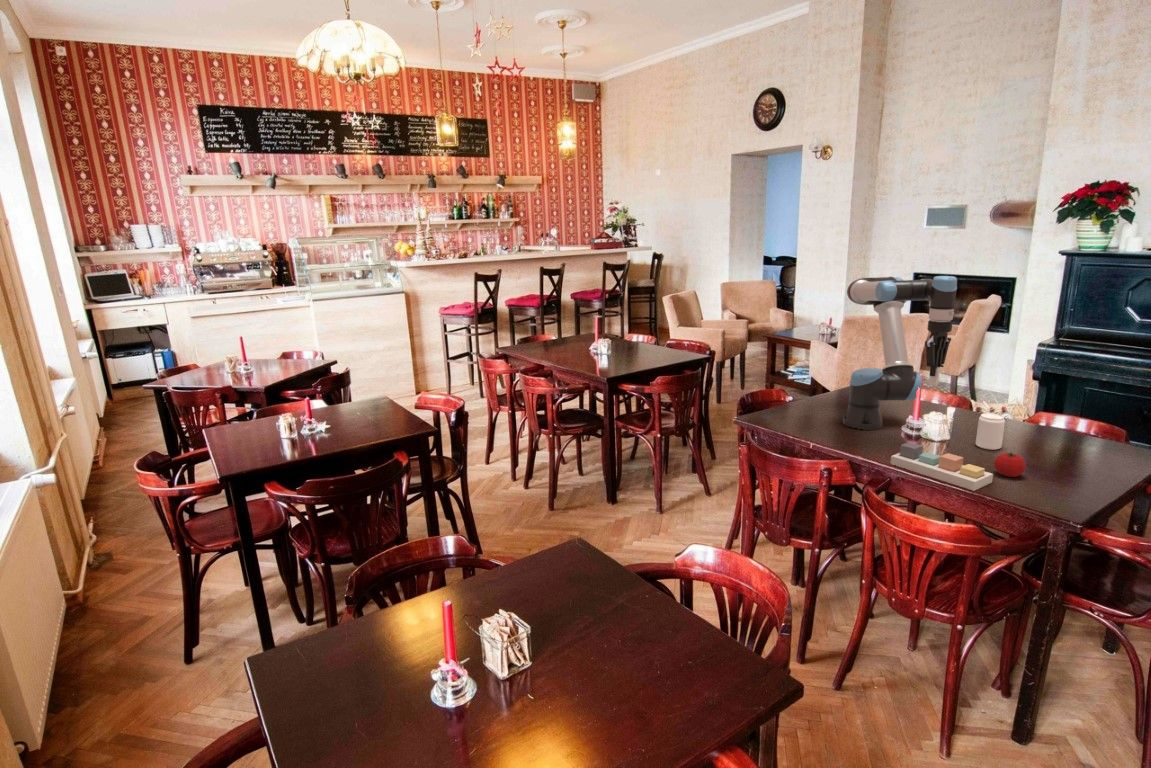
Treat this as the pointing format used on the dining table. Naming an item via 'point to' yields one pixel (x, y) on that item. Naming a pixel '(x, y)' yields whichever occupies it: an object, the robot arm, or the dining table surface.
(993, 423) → the beverage can
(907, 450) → the key
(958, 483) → the keypad
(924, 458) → the key
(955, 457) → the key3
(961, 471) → the key
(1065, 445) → the dining table surface
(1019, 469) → the tomato
